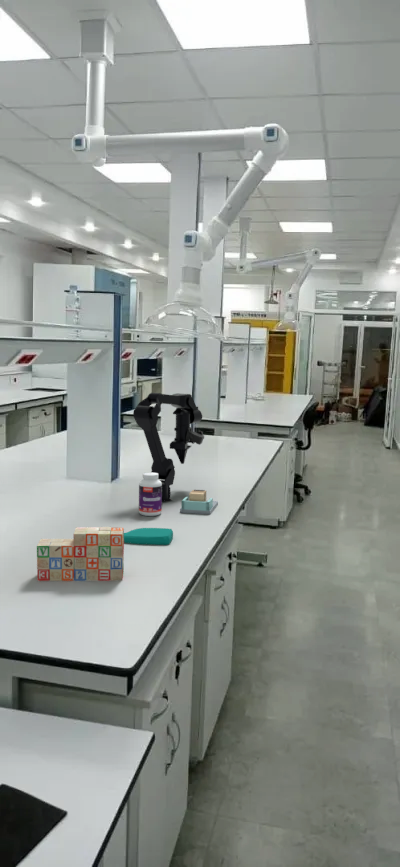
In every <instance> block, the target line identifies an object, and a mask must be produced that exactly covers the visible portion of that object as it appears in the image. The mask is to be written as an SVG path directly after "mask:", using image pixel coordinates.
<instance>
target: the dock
mask: <svg viewBox="0 0 400 867" xmlns="http://www.w3.org/2000/svg"><path fill="white" fill-rule="evenodd" d="M180 504H181V506H180V509H179V513H184V514H198V515H199V514H201V515H211V514H212V513H213V512H214V511H215V509H216V508H217V506H218V505H219V502H218V500H217V501H215V500H214V498H213V497H210V498H209V499H208V500H206V502H201V501H189V496H185V497H184V498H183V499H182V500H181V503H180Z"/></svg>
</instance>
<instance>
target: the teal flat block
mask: <svg viewBox="0 0 400 867" xmlns="http://www.w3.org/2000/svg"><path fill="white" fill-rule="evenodd" d="M173 536H174V531H173V529H172V528H164V527H163V528H162V527H141V528H134V529H131V530H130V531H128V532H124V544H130V545H131V544H133V545H143V546H144V545H145V546H146V545H147V546H148V545H149V546H150V545H151V546H167V545H170V544H171V542H172V540H173Z"/></svg>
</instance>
